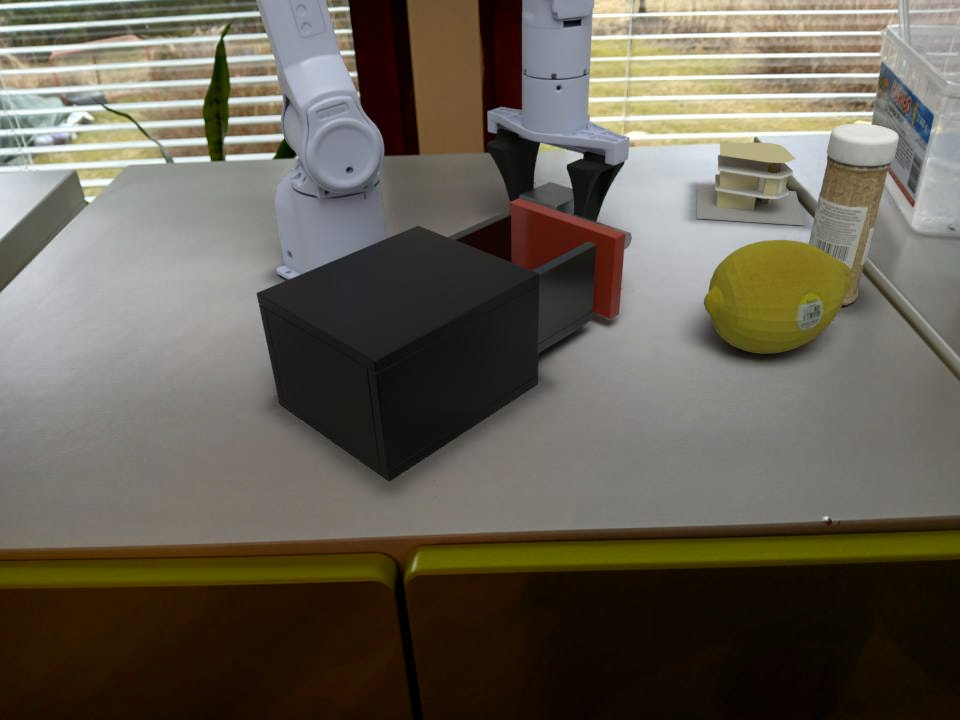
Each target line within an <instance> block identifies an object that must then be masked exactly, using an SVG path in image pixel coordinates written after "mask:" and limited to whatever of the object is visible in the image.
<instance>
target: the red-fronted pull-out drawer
mask: <svg viewBox="0 0 960 720" xmlns="http://www.w3.org/2000/svg"><path fill="white" fill-rule="evenodd" d="M447 237H448V238H451V239H453V240H456V241H458V242H461V243H463V244H466V245H468V246H471V247H473V248H476V249H479V250H481V251H484V252H486V253H489V254H491V255H494V256H496V257H499V258H501V259H504V260H506V261H509V262H511V263H514V264H516V265H519V266H521V267H524V268H527V269H529V270H532V271H534V272H537V273H539V274H540V280H539V343H538V354H540V353H542V352H544V351H545V350H546V349H548V348H549V347H551V346H553V345H555V344H556V343H558V342H559V341H561V340H563V339H564V338H565V337H567V336H569V335H571V334H572V333H574V332H575V331H577V330H579V329H580V328H582V327H584V326H586V325H587V324H588V323H590V322H592V321H593V315H594V314H595V315H597V316H600V317H603V318H604V319H606V320H607V319H608V320H612V319H614V318H615V317H617V316H619V315H620V310H621V309H620V307H621V295H622V284H623V270H624V257H625V250H627V249H628V248H629V247H630V245H631V243H632V233H631V232H629V231H626V230H623V229H621V228H617V227H614V226H611V225H608V224H605V223H602V222H599V221H597V222H596V221H593V220H590V219H587V218H584V217H581V216H578V215H574V214H571V213H567V214H566V213H562V212H559V211H556V210H553V209H550V208H547V207H544V206H541V205H538V204H535V203H532V202H529V201H526V200H523V199H520V198H518V199H516V200H514V201H511V202H510V201H509V203H508V212H506V211H504V212H501V213H498V214H497V215H493V216H491V217H490V218H488V219H485V220H483V221H481V222H479V223H476V224H474V225H472V226H469V227H467V228H465V229H462V230H461V231H458V232H456V233H453V234H451V235H449V236H447Z"/></svg>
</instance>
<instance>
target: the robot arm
mask: <svg viewBox="0 0 960 720" xmlns="http://www.w3.org/2000/svg"><path fill="white" fill-rule="evenodd" d="M255 2H256V6H257V9H258V12H259V15H260V18H261V21H262V24H263V27H264V30H265V33H266V36H267V40H268V42H269V45H270V49H271V52H272V55H273V58H274V61H275V66H276V76H277V82H278V85H279V88H280V92H281V96H282V109H281V115H280V127H281V132H282V135H283V138H284V139H285V142H286V144H287V145H288V146H289V147H290V149H291V150H292V151H294V153H295V154H296V156H297V158H298V159H297V160H296V161H295V164H294V166H293V169H292V170H291V171H289V172H288V173H287V174H285V175H284V176H283V177H282V178H281V180H280V181H279V183H278V185H277V188H276V189H275V193H274V198H273V207H274V214H275V219H276V220H275V221H276V225H277V231H278V235H279V237H278V238H279V243H280V247H281V252H282V257H283V263H284V264H283V265H281V266H279V267H277V268H276V274H277V275H278V276H280V277H283V278H284V279H286V280H289V279H291V278H294V277H296V276H298V275H301V274H303V273H306V272H308V271H310V270H313V269H315V268H318V267H320V266H322V265H325V264H327V263H329V262H332V261H334V260H337V259H339V258H341V257H344V256H346V255H349V254H351V253H353V252H356V251H358V250H361V249H363V248H365V247H368V246H370V245H373V244H375V243H377V242H380V241H382V240H385V239H387V238H388V237H387V228H386V217H385V207H384V198H383V197H384V196H383V187H382V178H381V169H382V165H383V163H384V158H385V143H384V142H385V141H384V139H383V135H382V133H381V131H380V129H379V128H378V126H377V124H376V123H374V122H373V120H371V119H370V117H369V116H368V115H367V114H366V112H365V111H364V109H363V107H362V105H361V101H360V98H359V95H358V91H357V87H356V86H355V83H354V81H353V79H352V77H351V74H350V72H349V70H348V67H347V65H346V63H345V62H344V58H343V56H342V54H341V50H340V46H339V44H338V39H337V35H336V32H335V28H334V25H333V21H332V18H331V14H330V11H329V7H328V2H327V0H255ZM521 3H522V5H521V6H522V7H521V9H522V11H521V69H522V70H521V109H517V108H510V107H506V106H500V107H496V108H494V109H491V110H488V111H487V113H486V114H487V132H488V133H491V134H495V138H494V139H492V140H489V141H488V142H487V144H486V150H487V152H488V154H489V155H490V156H491V158H492V160H493V161H494V163H495V165H496V167H497V169H498V171H499V173H500V176H501V178H502V181H503V183H504V187H505V189H506V193H507V197H508V200H509V202H511V201H514V200H516V199H518V198H519V196H520V194H523V193H525V192H527V191H530V190H532V189H534V188H535V171H536V165H537V158H538V154H539V149H540V146H541V144H544V145H547V146H552V147H555V148H559V149H563V150H567V151H571V152H574V153H578V154H581V155H582V158H579V159H577V160H574V161H571V162H569V163H567V164H566V171H567V173H568V177H569V180H570V185H571V188H572V191H573V198H574V215H578V216H581V217H584V218H587V219H590V220H593V221H596V222H598V218H599V216H600V212H601V209H602V206H603V203H604V201H605V200H606V199H605V198H606V197H607V194H608V192H609V190H610V188H611V186H612V184H613V183H614V181H615V179H616V178H617V176H618V174H619V173H620V172H621V170H622V168H623V167H624V165H625V162H626V161H628V160H629V151H630V137H629V136H626V135H622V134H619V133H617V132H614V131H612V130H610V129H608V128H606V127H604V126H602V125H599V124H597V123H595V122H593V121H591V115H590V114H589V103H590V102H589V101H590V99H589V98H590V79H591V77H590V76H591V60H592V59H591V57H592V56H591V55H592V34H593V33H592V32H593V16H594V15H593V12H594V11H593V9H595V0H521Z"/></svg>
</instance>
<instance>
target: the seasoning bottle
mask: <svg viewBox="0 0 960 720" xmlns="http://www.w3.org/2000/svg"><path fill="white" fill-rule="evenodd" d="M899 140H900V137H899V134H898V133H897V132H896V131H895V130H894V129H891V128H888V127H885V126H881V125H876V124H870V123H847V124H845V123H844V124H841V125H837V126H836V127H834V128H833V129H832V130H831V132H830V136H829V139H828V145H827V149H826V154H827V155H826V166H825V170H824V174H823V179H822V184H821V188H820V192H819V194H818V199H817V203H816V208H815V213H814V217H813V222H812V226H811V231H810V235H809V240H808V244H810V245H813V246H815V247H817V248H819V249H821V250H823V251H824V252H826V253H828V254H829V255H831V256H832V257H834V258H835V259H837V260H839V261H841V262H843V263H845V264H846V265H847V266H848V267H849V268H850V270H851V277H852V281H851V287H850V289H849V291H848V292H847V294H846V295H845V297H844V299H843V302H842V306H849V305H850V304H853V303H854V302H855V301H856V299H858V296H859V286H860V282H861V277H862V275H863V271H864V267H865V264H866V262H867V259H868V255H869V252H870V247H871V245H872V239H873V235H874V232H875V224H876V221H877V216H878V212H879V209H880V203H881V200H882V196H883V192H884V189H885V184H886V180H887V174H888V173H889V169H890V167H891V165H892V162H893V161H894V159H895V157H896V153H897V148H898V145H899Z"/></svg>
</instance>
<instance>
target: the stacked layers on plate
mask: <svg viewBox="0 0 960 720" xmlns="http://www.w3.org/2000/svg"><path fill="white" fill-rule="evenodd" d="M794 160H796V156H794V155H793V154H792V152H790V151H788V150H787V149H786V148H785V146H782V145H780V144H778V143H773V142H719V154H718V155H717V171H719V173H718V174H717V173H716V174H715V175H714V186H711V185H697V193H696V194H697V195H696V196H697V197H696V198H697V199H696V219H699V220H700V219H701V220H713V221H714V220H716V221H731V222H746V223H760V224H777V225H791V226H805V223H804V219H803V215H802V211H801V210H802V209H801V207H800V202H799V198H798V195H797V191H796V190H789V189H788V188H787V182H788V177H790V176H793V173H794V171H793V169H792V168H791V167H790V166H789V165H788V164H786V163H789V162H791V161H794Z"/></svg>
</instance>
